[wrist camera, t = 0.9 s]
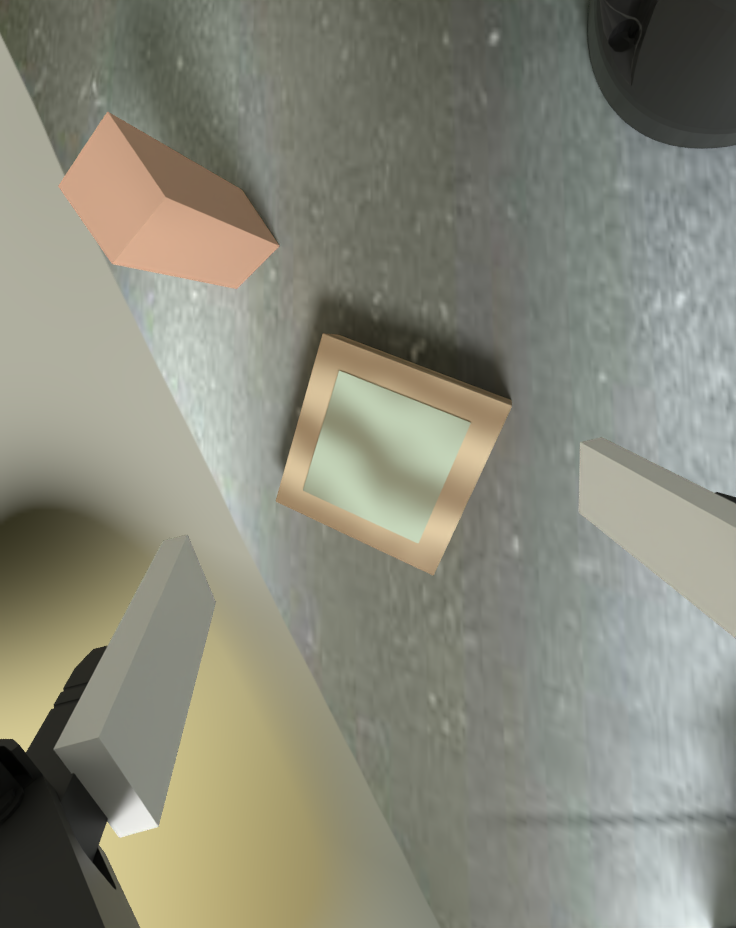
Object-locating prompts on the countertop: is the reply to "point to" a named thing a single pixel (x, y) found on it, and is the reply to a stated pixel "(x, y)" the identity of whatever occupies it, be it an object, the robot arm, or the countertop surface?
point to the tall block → (164, 209)
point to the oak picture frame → (388, 450)
